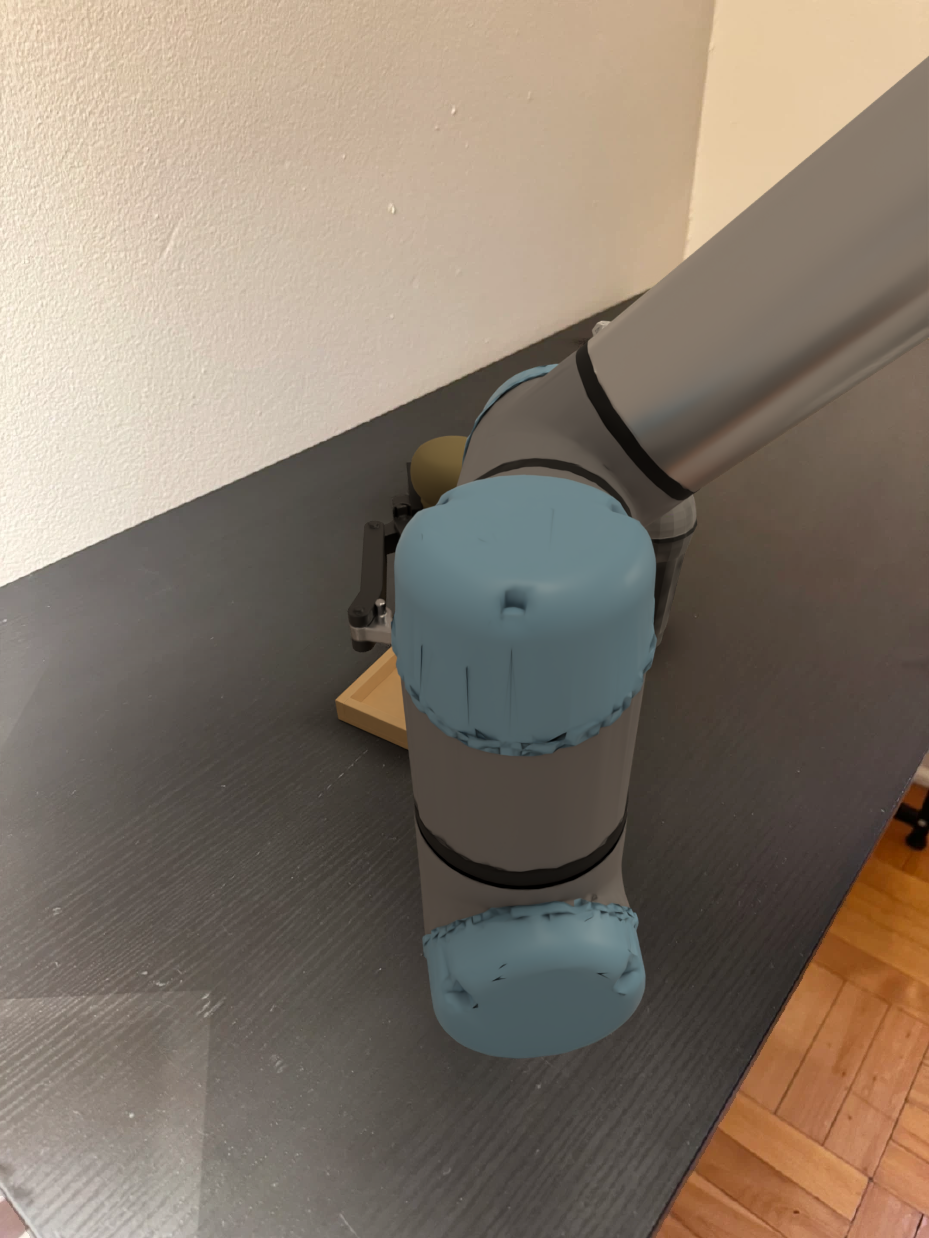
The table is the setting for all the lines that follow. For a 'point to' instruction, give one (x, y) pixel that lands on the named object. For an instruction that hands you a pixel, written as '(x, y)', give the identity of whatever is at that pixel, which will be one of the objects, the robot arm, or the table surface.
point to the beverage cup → (670, 556)
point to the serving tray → (376, 701)
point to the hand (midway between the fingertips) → (446, 477)
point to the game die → (599, 327)
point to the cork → (437, 467)
